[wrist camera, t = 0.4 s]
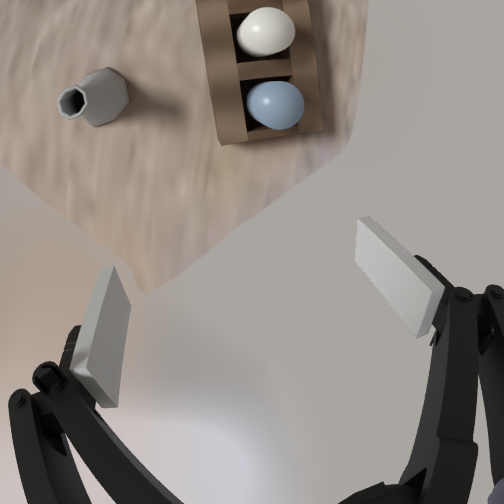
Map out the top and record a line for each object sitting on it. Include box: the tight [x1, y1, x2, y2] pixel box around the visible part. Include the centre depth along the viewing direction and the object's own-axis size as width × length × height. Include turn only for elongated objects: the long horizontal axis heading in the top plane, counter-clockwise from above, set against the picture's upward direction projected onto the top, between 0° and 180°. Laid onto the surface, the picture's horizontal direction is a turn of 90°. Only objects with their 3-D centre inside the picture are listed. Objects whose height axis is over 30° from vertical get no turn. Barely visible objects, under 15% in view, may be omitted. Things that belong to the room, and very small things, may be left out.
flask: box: [57, 67, 130, 127], centre depth 25 cm, size 7×7×10 cm
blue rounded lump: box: [246, 81, 304, 130], centre depth 29 cm, size 5×5×5 cm
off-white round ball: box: [236, 7, 295, 57], centre depth 25 cm, size 5×5×5 cm
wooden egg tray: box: [196, 0, 323, 146], centre depth 28 cm, size 24×12×4 cm, turn 7°
